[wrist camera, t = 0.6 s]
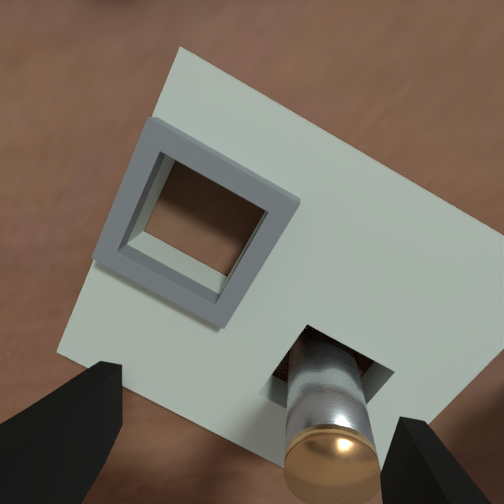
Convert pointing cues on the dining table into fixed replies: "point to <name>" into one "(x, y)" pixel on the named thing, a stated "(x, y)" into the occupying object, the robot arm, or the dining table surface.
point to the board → (285, 272)
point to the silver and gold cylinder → (328, 425)
